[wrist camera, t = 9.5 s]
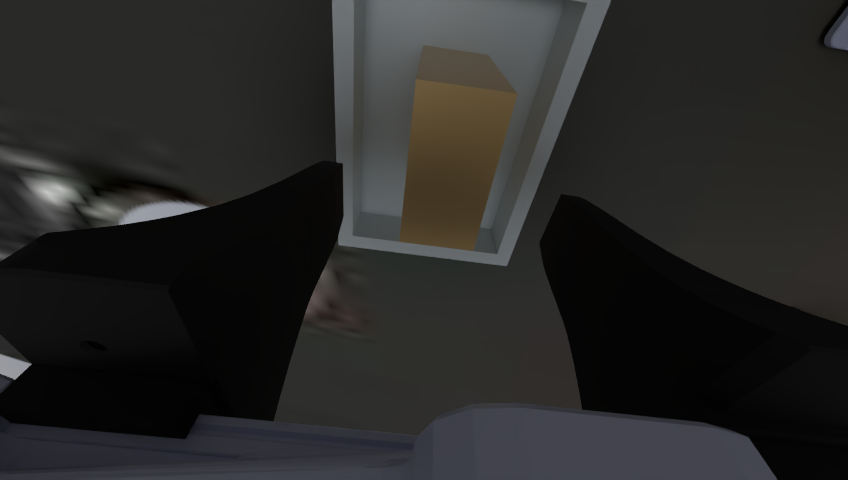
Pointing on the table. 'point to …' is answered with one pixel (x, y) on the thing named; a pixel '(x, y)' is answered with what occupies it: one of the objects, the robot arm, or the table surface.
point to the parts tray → (394, 95)
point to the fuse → (453, 146)
